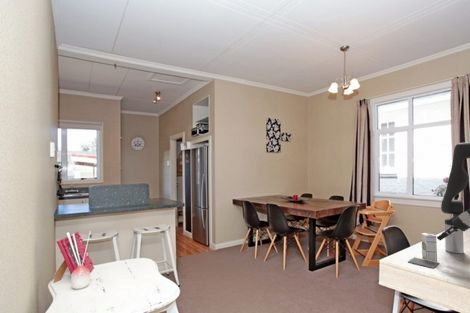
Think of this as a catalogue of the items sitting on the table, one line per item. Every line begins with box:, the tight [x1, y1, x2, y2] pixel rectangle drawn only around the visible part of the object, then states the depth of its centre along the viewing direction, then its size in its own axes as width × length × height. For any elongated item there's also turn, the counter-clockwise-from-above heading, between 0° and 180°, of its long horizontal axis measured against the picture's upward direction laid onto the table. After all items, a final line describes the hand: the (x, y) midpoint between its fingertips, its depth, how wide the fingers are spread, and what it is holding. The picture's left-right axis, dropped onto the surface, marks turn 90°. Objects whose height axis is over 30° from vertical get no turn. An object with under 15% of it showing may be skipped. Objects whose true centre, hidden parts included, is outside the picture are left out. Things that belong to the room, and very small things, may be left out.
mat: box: [407, 256, 441, 269], centre depth 152 cm, size 12×12×1 cm
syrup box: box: [421, 232, 438, 262], centre depth 160 cm, size 6×6×14 cm
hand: (440, 237), depth 156 cm, fingers open, 8 cm apart
